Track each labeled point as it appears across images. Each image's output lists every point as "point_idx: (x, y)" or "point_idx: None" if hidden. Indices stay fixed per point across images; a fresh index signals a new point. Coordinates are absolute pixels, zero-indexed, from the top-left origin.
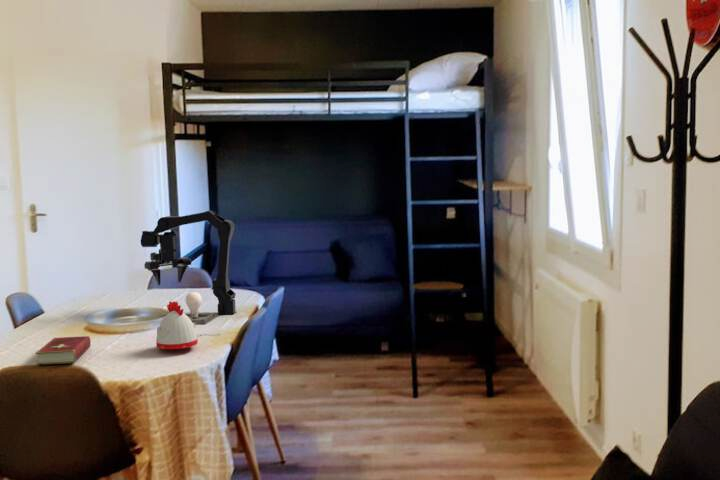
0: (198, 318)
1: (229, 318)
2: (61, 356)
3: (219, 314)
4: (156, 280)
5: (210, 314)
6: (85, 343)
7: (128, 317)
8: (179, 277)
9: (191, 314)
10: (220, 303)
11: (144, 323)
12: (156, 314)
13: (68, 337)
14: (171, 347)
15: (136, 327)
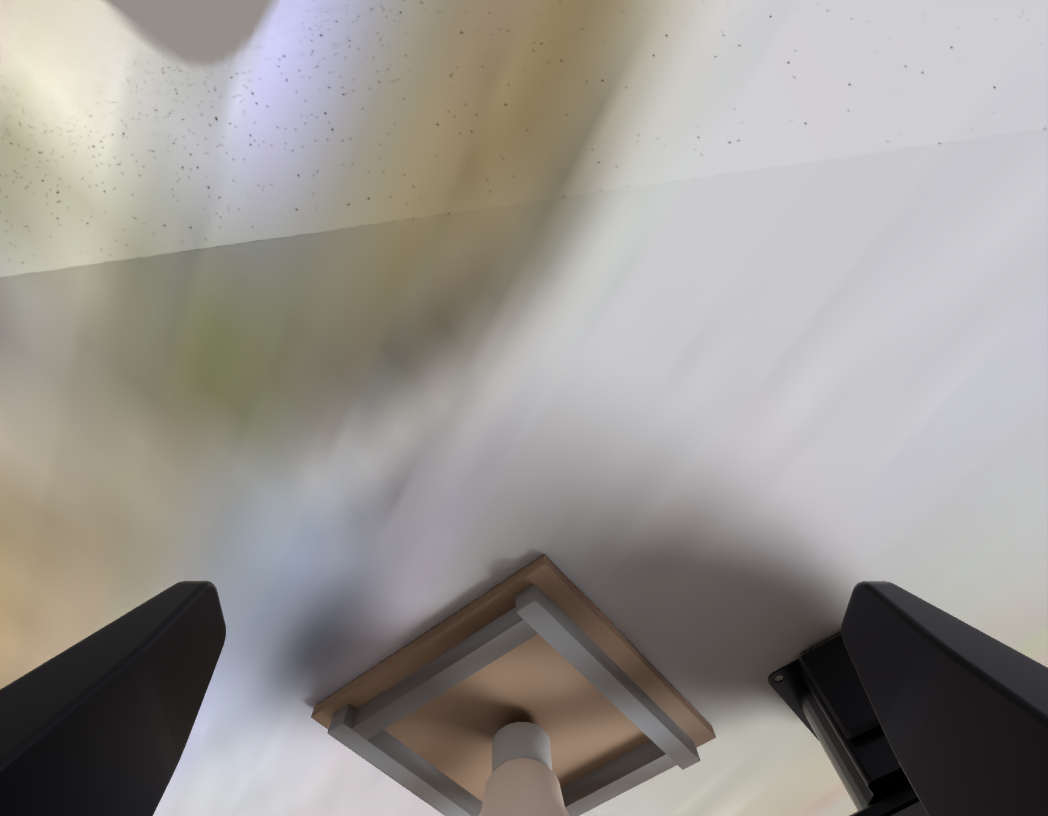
0: (551, 731)
1: (724, 805)
2: None
3: (789, 674)
4: (16, 707)
5: (654, 764)
6: None
7: (7, 60)
8: (949, 788)
9: (492, 770)
10: (855, 771)
11: (125, 537)
12: (393, 192)
13: None
14: None
15: (23, 625)
